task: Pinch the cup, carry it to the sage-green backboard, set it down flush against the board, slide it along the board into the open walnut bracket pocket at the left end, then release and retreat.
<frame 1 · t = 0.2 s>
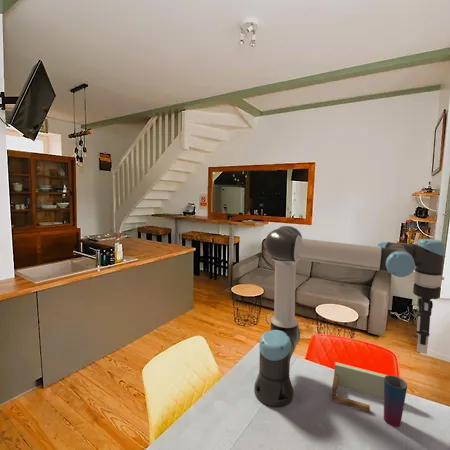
hand: (421, 343, 98), 27 cm above the table, fingers open, 13 cm apart
cup: (391, 421, 98), on the table
wall board: (365, 392, 112), on the table
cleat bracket: (350, 397, 109), on the table
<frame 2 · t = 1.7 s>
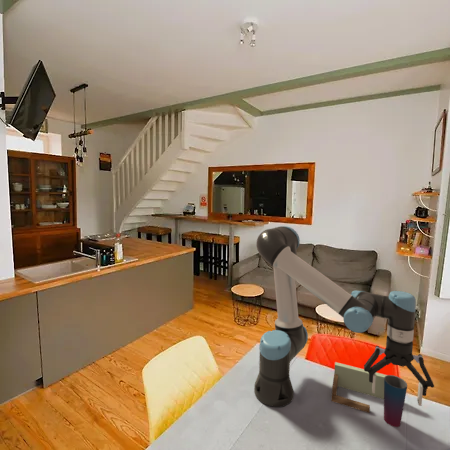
hand: (395, 396, 97), 9 cm above the table, fingers open, 13 cm apart
nothing on the table moved.
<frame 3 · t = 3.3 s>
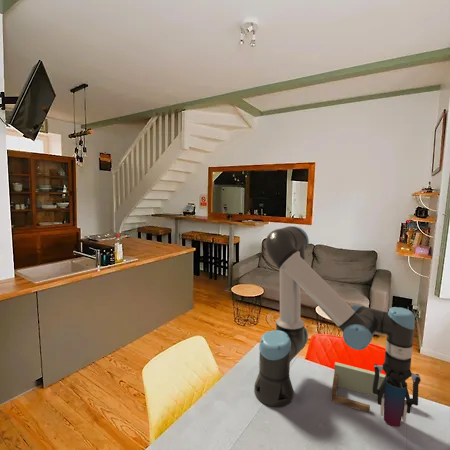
hand: (392, 416, 98), 2 cm above the table, fingers closed on cup, 6 cm apart
cup: (391, 421, 98), on the table, touching gripper
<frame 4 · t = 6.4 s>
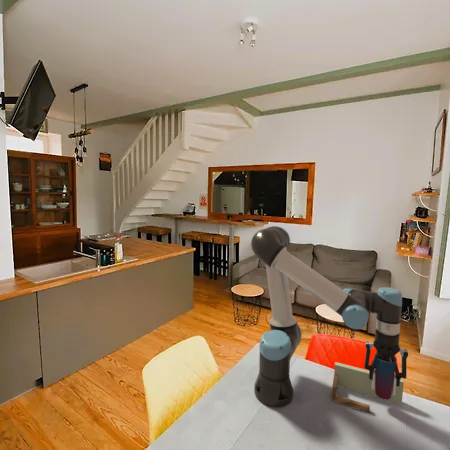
hand: (383, 390, 104), 6 cm above the table, fingers closed on cup, 6 cm apart
cup: (382, 395, 105), point 4 cm above the table, touching gripper
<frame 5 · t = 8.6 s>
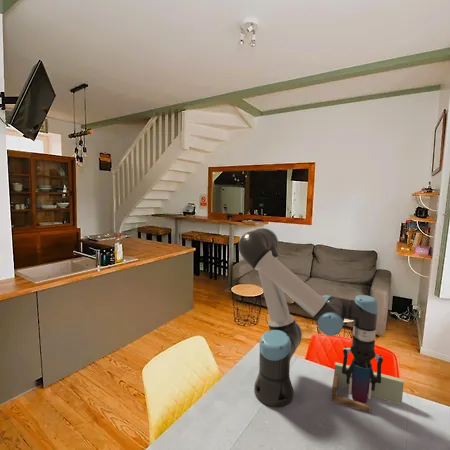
hand: (359, 393, 108), 2 cm above the table, fingers closed on cup, 6 cm apart
cup: (359, 399, 108), on the table, touching gripper
when the fingers open (2 cm above the table, at t = 9.7 s): cup stays where it is, on the table.
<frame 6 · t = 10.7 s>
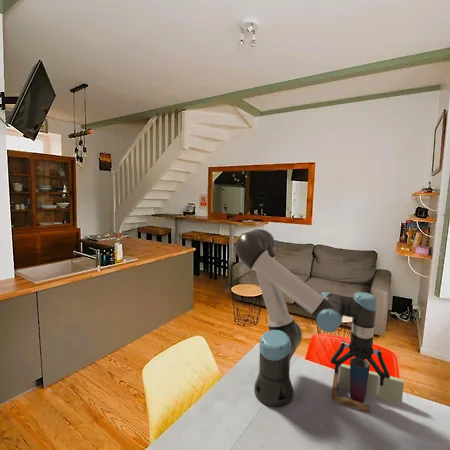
hand: (357, 386, 108), 5 cm above the table, fingers open, 13 cm apart
cup: (357, 399, 109), on the table
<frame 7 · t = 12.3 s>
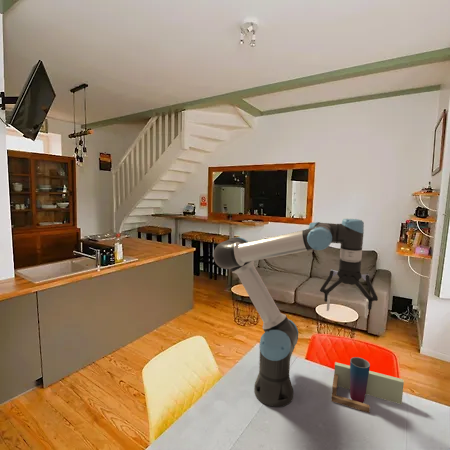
hand: (346, 313, 109), 32 cm above the table, fingers open, 13 cm apart
nothing on the table moved.
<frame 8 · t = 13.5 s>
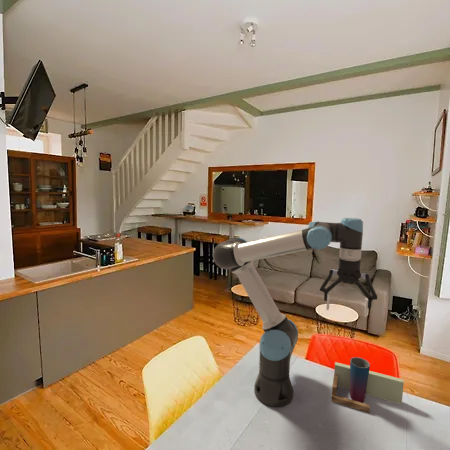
hand: (346, 312, 109), 33 cm above the table, fingers open, 13 cm apart
nothing on the table moved.
at the end: cup inside the target area (1.4 cm from its centre), on the table; cup tilted 0°; the gripper is holding nothing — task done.
